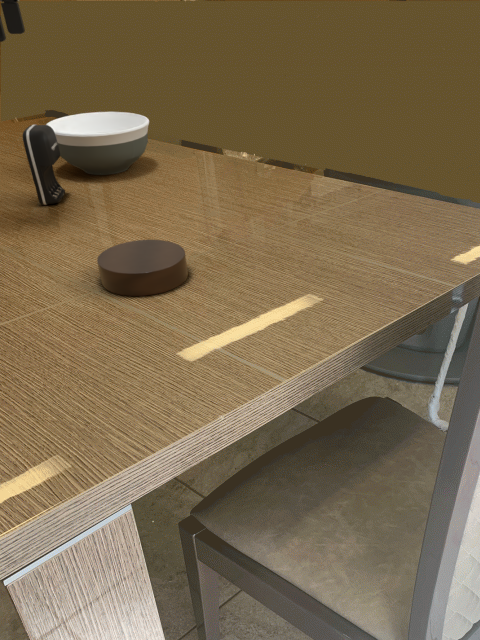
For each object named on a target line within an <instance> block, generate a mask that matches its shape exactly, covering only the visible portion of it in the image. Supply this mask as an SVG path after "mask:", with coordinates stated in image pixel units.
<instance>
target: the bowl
mask: <svg viewBox="0 0 480 640" xmlns="http://www.w3.org/2000/svg"><path fill="white" fill-rule="evenodd" d="M45 125H48V126H50V127H51V128H52V129H53V130H54V132H55V135H56V139H57V142H58V146H59V149H60V158H61V159H62V160H63V161H65V162H67V163H68V164H70V165H71V166H74V167H76V168H77V169H79V170H82V171H83V172H84V173H86V174H89V175H95V176H107V175H115V174H120V173H123V172H126V171H128V170H129V169H130V167H131V166H132V165H133V164H135V163H136V162H137V161H138V160H139V159H141V157H142V156H143V154H144V153H145V151H146V148H147V145H148V142H149V139H148V138H149V137H148V136H149V135H148V133H149V131H148V130H149V125H150V120H149V118H148V117H146V116H145V115H143V114H139V113H133V112H124V111H96V112H95V111H94V112H84V113H83V112H82V113H77V114H71V115H65V116H62V117H59V118H56V119H52V120H50V121H49V122H47V123H46V124H45Z"/></svg>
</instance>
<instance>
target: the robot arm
mask: <svg viewBox="0 0 480 640" xmlns="http://www.w3.org/2000/svg"><path fill="white" fill-rule="evenodd" d="M19 2H21V1H20V0H0V5H1V10H2V13H3V17H4V21H5V25H6V29H7V32H8V33H9V34H11V35H21V34H24V33H25V31H26V29H25V24H24V21H23V17H22V16H23V15H22V13H21V12H22V11H21V9H20V8H21V7H20V4H19ZM2 20H3V19H2V16H0V43H1V42H5V41H6V40H7V36H6V32H5V28H4V25H3V21H2Z"/></svg>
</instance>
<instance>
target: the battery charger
mask: <svg viewBox="0 0 480 640" xmlns="http://www.w3.org/2000/svg"><path fill="white" fill-rule="evenodd" d="M22 143H23V146H24V150H25V155H26V159H27V161H28V165H29V170H30V172H31V177H32V180H33V184H34V187H35V191H36V194H37V199H38V202H39V204H40V205H45V206H46V205H53V204H58V203H60V202H61V201H62V199H63V198H64V196H65V194H66V190H65V188H63V187H62V185H61V184H60V183H59V182H58V180H57V178H56V175H55V171H54V168H53V166H54V165H55V164H56V163H57V161H58V160H59V159H60V158H61V156H60V149H59V146H58V142H57V139H56V135H55V132H54V130H53V129H52V128H51V127H50V126H48V125H46V124H32V125H29V126H28V127H27V128H25V129H24V130H23V132H22Z"/></svg>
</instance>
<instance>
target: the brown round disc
mask: <svg viewBox="0 0 480 640" xmlns="http://www.w3.org/2000/svg"><path fill="white" fill-rule="evenodd" d="M96 261H97V266H98V271H99V276H100V281H101V284H102V286H103V288H104V289H106V290H107V291H109V292H111V293H113V294H116V295H121V296H127V297H129V296H130V297H143V296H144V297H145V296H153V295H157V294H162V293H165V292H169V291H171V290H174V289H176V288H177V287H179V286H182V284H183V283H184V282H186V280H187V279H188V278H189V277H188V276H189V271H188V264H187V257H186V251H185V249H184V247H183V246H181V245H180V244H177V243H175V242H172V241H168V240H163V239H162V240H161V239H140V240H139V239H138V240H130V241H126V242H122V243H119V244H116V245H113V246H111V247H109V248H107V249H105V250H103V251H101V252H100V254H98V257H97V260H96Z"/></svg>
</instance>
